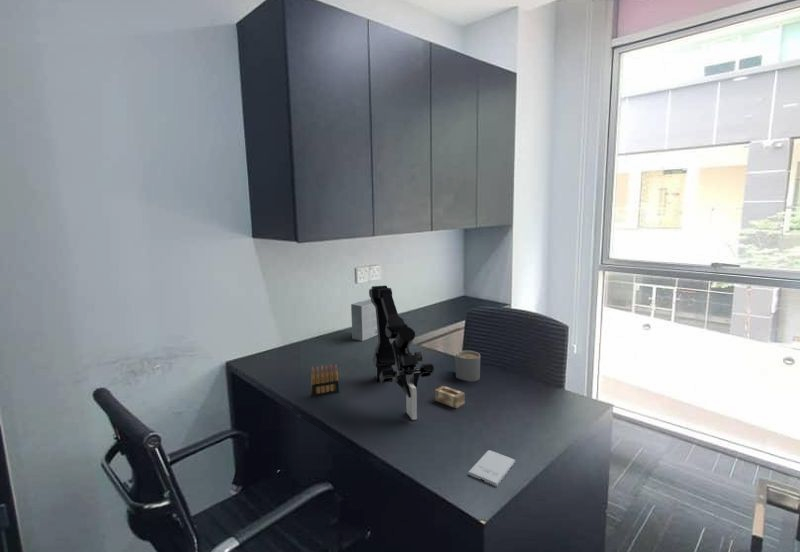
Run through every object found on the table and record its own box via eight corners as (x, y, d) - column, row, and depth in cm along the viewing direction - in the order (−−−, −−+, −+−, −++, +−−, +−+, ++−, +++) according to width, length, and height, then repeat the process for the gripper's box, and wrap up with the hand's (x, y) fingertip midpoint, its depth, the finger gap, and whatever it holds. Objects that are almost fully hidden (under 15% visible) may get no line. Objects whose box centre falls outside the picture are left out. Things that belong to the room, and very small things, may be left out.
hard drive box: (369, 332, 237) (369, 298, 234) (380, 334, 232) (379, 300, 229) (351, 339, 224) (350, 303, 221) (362, 341, 220) (361, 305, 217)
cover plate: (406, 412, 142) (406, 381, 140) (410, 411, 142) (410, 381, 141) (412, 419, 136) (412, 388, 135) (416, 419, 136) (416, 387, 135)
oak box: (434, 401, 151) (434, 390, 150) (443, 396, 154) (443, 385, 154) (456, 409, 144) (456, 397, 144) (464, 404, 148) (464, 392, 147)
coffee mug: (483, 380, 169) (484, 357, 168) (462, 383, 166) (462, 359, 165) (469, 368, 182) (469, 347, 180) (448, 371, 179) (449, 349, 177)
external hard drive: (515, 465, 114) (496, 488, 104) (488, 454, 119) (467, 476, 109) (515, 459, 114) (496, 483, 104) (488, 449, 119) (468, 470, 109)
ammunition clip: (311, 397, 154) (310, 367, 152) (310, 395, 156) (309, 365, 154) (339, 392, 158) (338, 363, 156) (338, 390, 160) (337, 361, 158)
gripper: (381, 347, 136) (391, 391, 128) (432, 341, 142) (445, 383, 133) (375, 361, 145) (384, 404, 136) (424, 355, 151) (435, 396, 142)
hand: (412, 396), depth 137 cm, fingers closed
